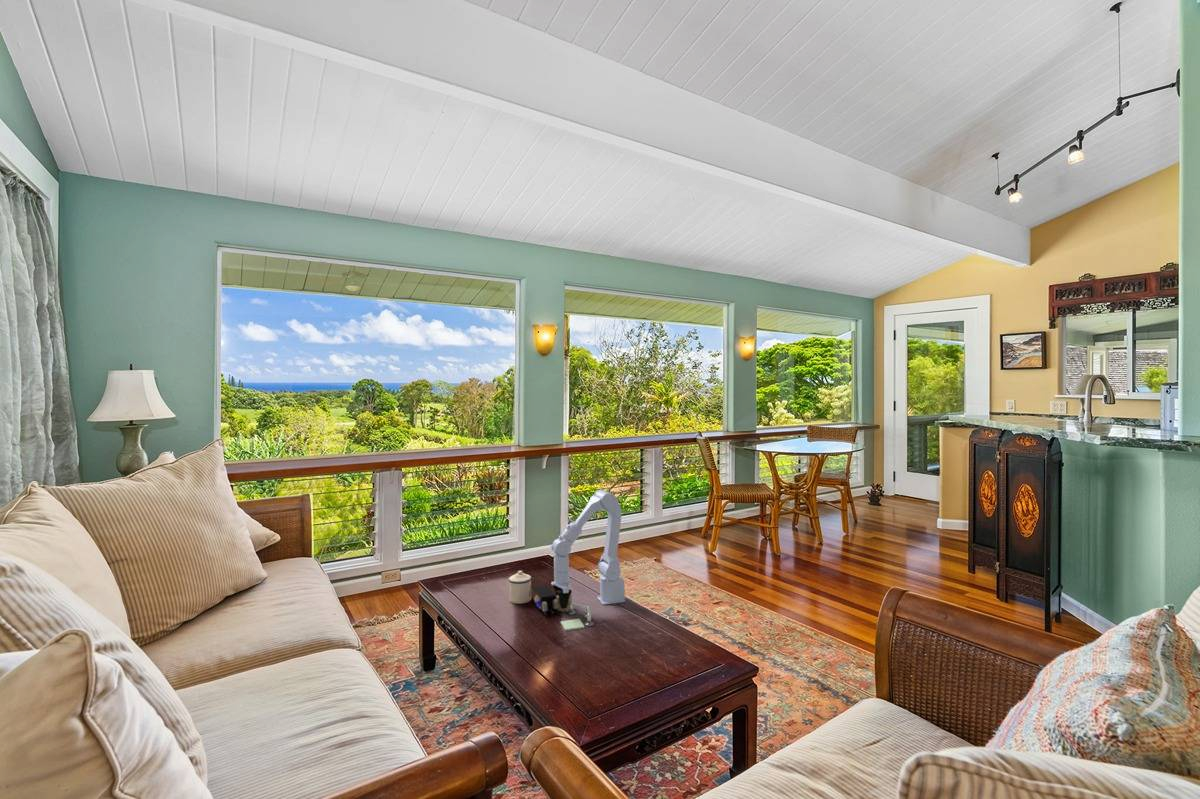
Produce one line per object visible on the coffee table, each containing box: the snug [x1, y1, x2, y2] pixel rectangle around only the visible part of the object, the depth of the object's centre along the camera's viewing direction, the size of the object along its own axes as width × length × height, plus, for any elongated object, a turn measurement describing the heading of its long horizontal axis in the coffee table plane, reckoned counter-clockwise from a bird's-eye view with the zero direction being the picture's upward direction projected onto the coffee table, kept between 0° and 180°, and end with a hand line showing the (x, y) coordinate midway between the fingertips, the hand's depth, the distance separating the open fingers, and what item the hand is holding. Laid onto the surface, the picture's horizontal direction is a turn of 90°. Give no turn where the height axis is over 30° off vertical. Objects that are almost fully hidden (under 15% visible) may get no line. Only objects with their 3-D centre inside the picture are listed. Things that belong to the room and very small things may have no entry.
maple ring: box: [556, 594, 573, 612], centre depth 213 cm, size 6×6×5 cm
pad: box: [560, 618, 585, 632], centre depth 198 cm, size 7×7×1 cm
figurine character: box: [531, 584, 559, 616], centre depth 213 cm, size 7×8×15 cm
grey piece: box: [566, 602, 595, 627], centre depth 204 cm, size 8×15×4 cm, turn 17°
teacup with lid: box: [508, 570, 532, 605], centre depth 224 cm, size 12×9×12 cm
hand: (562, 605), depth 213 cm, fingers closed on maple ring, 6 cm apart
